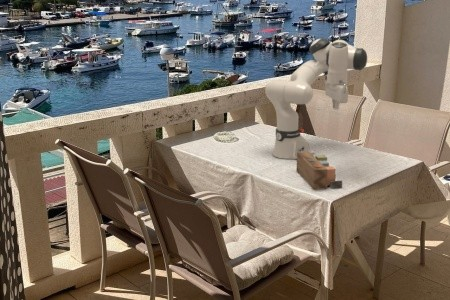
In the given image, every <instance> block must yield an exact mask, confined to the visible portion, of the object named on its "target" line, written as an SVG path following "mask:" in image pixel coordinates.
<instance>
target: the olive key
mask: <svg viewBox="0 0 450 300" xmlns="http://www.w3.org/2000/svg"><path fill="white" fill-rule="evenodd" d="M314 157H315V158H316V159H317V160H318V161H327V162H328V157H327V156H326V155H325V154H317V155H315V156H314Z"/></svg>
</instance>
